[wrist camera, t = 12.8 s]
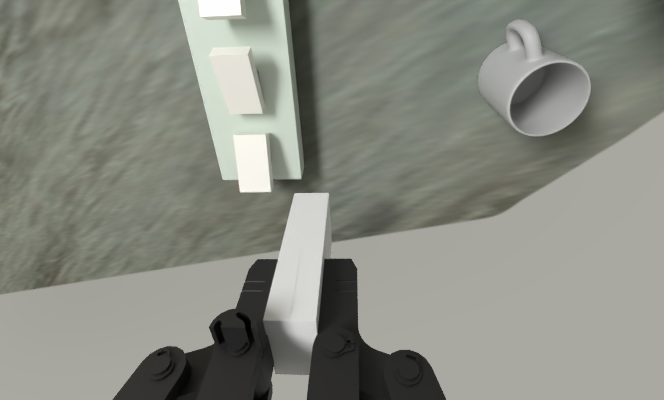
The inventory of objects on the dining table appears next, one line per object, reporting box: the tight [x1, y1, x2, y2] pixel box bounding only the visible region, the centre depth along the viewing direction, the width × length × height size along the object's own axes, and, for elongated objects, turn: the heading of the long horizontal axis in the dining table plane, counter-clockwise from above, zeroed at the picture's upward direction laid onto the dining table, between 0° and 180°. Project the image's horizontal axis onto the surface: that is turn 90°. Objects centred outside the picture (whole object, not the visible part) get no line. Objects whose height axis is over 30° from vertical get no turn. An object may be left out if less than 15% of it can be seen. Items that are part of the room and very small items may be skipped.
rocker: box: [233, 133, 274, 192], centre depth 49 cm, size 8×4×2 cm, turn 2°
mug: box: [478, 19, 591, 136], centre depth 41 cm, size 12×8×11 cm
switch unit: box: [178, 0, 304, 180], centre depth 46 cm, size 30×12×5 cm, turn 2°
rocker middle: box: [209, 46, 265, 114], centre depth 43 cm, size 8×4×2 cm, turn 3°
